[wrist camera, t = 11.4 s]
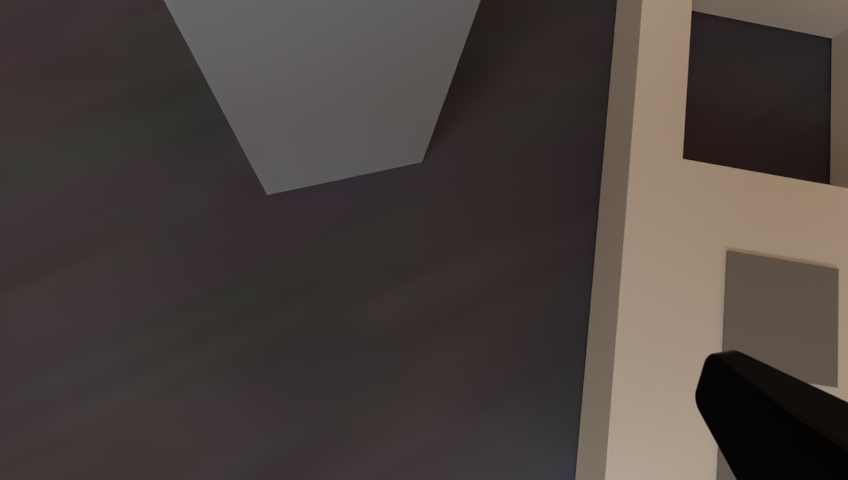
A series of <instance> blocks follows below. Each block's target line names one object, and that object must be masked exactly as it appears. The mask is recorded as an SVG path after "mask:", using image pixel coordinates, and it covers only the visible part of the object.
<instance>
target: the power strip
mask: <svg viewBox="0 0 848 480" xmlns="http://www.w3.org/2000/svg"><path fill="white" fill-rule="evenodd" d="M692 11H696V12H701V13H706V14H711V15H716V16H721V17H726V18H731V19H736V20H741V21H746V22H751V23H756V24H761V25H766V26H771V27H776V28H781V29H786V30H791V31H796V32H801V33H806V34H811V35H816V36H821V37H826V38H831V39H832V47H831V135H830V185H827V184H821V183H815V182H810V181H804V180H798V179H793V178H787V177H782V176H776V175H770V174H765V173H759V172H754V171H748V170H742V169H737V168H731V167H726V166H720V165H714V164H709V163H703V162H697V161H692V160H686V159H683V144H684V127H685V111H686V94H687V78H688V62H689V45H690V29H691V12H692ZM727 350H737V351H740V352H742V353H744V354H746V355H748V356H750V357H753V358H755V359H757V360H759V361H761V362H763V363H765V364H768V365H770V366H772V367H774V368H776V369H778V370H780V371H783V372H785V373H787V374H789V375H791V376H793V377H795V378H798V379H800V380H802V381H804V382H806V383H808V384H810V385H812V386H815V387H817V388H819V389H821V390H823V391H825V392H827V393H830V394H832V395H834V396H836V397H838V398H840V399H842V400H845V401H847V402H848V0H617V7H616V19H615V30H614V42H613V53H612V65H611V76H610V88H609V99H608V111H607V122H606V133H605V145H604V156H603V168H602V179H601V191H600V202H599V214H598V225H597V237H596V248H595V259H594V271H593V282H592V294H591V305H590V317H589V328H588V340H587V351H586V362H585V374H584V385H583V397H582V408H581V420H580V431H579V443H578V454H577V466H576V477H575V480H736V478H735V476H734V475H733V473H732V471H731V469H730V467H729V465H728V464H727V462H726V460H725V458H724V456H723V454H722V452H721V451H720V449H719V447H718V445H717V443H716V441H715V440H714V438H713V436H712V434H711V432H710V430H709V429H708V427H707V425H706V423H705V421H704V419H703V418H702V416H701V414H700V412H699V410H698V408H697V405H696V401H695V391H696V388H697V384H698V381H699V378H700V374H701V371H702V368H703V365H704V361H705V359H706V358H707V357H708V356H709V355H710V354H712V353H717V352H722V351H727Z"/></svg>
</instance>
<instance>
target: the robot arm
mask: <svg viewBox="0 0 848 480" xmlns="http://www.w3.org/2000/svg"><path fill="white" fill-rule="evenodd" d="M695 401H696V405H697V408H698V410H699V412H700V414H701V416H702V418H703V419H704V421H705V423H706V425H707V427H708V429H709V430H710V432H711V434H712V436H713V438H714V440H715V441H716V443H717V445H718V447H719V449H720V451H721V452H722V454H723V456H724V458H725V460H726V462H727V464H728V465H729V467H730V469H731V471H732V473H733V475H734V476H735V478H736V480H848V402H847V401H845V400H842V399H840V398H838V397H836V396H834V395H832V394H830V393H827V392H825V391H823V390H821V389H819V388H817V387H815V386H812V385H810V384H808V383H806V382H804V381H802V380H800V379H798V378H795V377H793V376H791V375H789V374H787V373H785V372H783V371H780V370H778V369H776V368H774V367H772V366H770V365H768V364H765V363H763V362H761V361H759V360H757V359H755V358H753V357H750V356H748V355H746V354H744V353H742V352H740V351H737V350H727V351H722V352H717V353H712V354H710V355H709V356H708V357H707V358H706V359H705V361H704V365H703V368H702V371H701V374H700V378H699V381H698V384H697V388H696V391H695Z"/></svg>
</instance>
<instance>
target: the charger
mask: <svg viewBox="0 0 848 480" xmlns="http://www.w3.org/2000/svg"><path fill="white" fill-rule="evenodd" d="M164 1H165V3H166V5H167V7H168V9H169V11H170V12H171V14H172V16H173V18H174V20H175V22H176V24H177V26H178V28H179V29H180V31H181V33H182V35H183V37H184V39H185V41H186V43H187V45H188V46H189V48H190V50H191V52H192V54H193V56H194V58H195V60H196V62H197V63H198V65H199V67H200V69H201V71H202V73H203V75H204V77H205V79H206V80H207V82H208V84H209V86H210V88H211V90H212V92H213V94H214V96H215V97H216V99H217V101H218V103H219V105H220V107H221V109H222V111H223V113H224V114H225V116H226V118H227V120H228V122H229V124H230V126H231V128H232V130H233V131H234V133H235V135H236V137H237V139H238V141H239V143H240V145H241V147H242V148H243V150H244V152H245V154H246V156H247V158H248V160H249V162H250V164H251V165H252V167H253V169H254V171H255V173H256V175H257V177H258V179H259V181H260V182H261V184H262V186H263V188H264V190H265V192H266V194H267V195H270V194H275V193H280V192H284V191H289V190H294V189H299V188H303V187H308V186H313V185H317V184H322V183H327V182H331V181H336V180H341V179H345V178H350V177H355V176H360V175H364V174H369V173H374V172H378V171H383V170H388V169H392V168H397V167H402V166H406V165H411V164H416V163H421V162H422V161H423V159H424V156H425V153H426V150H427V147H428V145H429V142H430V139H431V136H432V134H433V131H434V128H435V125H436V123H437V120H438V117H439V114H440V111H441V109H442V106H443V103H444V100H445V98H446V95H447V92H448V89H449V86H450V84H451V81H452V78H453V75H454V73H455V70H456V67H457V64H458V62H459V59H460V56H461V53H462V50H463V48H464V45H465V42H466V39H467V37H468V34H469V31H470V28H471V25H472V23H473V20H474V17H475V14H476V12H477V9H478V6H479V3H480V1H481V0H164Z"/></svg>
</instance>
